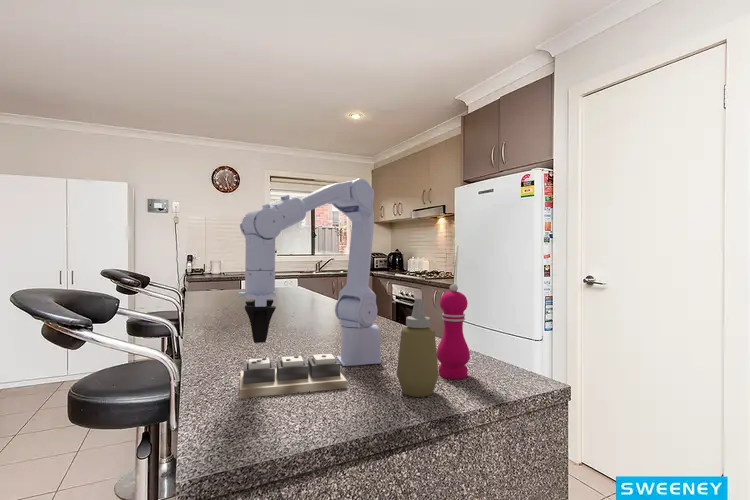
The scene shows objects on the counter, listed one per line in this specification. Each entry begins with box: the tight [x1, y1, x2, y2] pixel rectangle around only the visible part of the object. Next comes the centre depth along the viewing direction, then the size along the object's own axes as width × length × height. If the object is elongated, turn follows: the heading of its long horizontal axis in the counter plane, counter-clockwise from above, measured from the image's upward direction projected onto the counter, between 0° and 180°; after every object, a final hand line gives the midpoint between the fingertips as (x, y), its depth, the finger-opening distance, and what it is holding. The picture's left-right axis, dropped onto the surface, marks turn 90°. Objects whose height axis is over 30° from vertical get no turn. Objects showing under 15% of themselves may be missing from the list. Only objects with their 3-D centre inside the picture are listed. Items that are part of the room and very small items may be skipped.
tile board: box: [238, 356, 348, 399], centre depth 81 cm, size 20×12×4 cm, turn 107°
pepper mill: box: [436, 283, 471, 380], centre depth 87 cm, size 7×7×20 cm
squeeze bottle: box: [396, 297, 440, 398], centre depth 76 cm, size 8×8×18 cm
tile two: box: [281, 355, 304, 367], centre depth 81 cm, size 4×4×2 cm
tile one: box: [312, 353, 336, 365], centre depth 83 cm, size 4×4×2 cm
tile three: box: [248, 357, 271, 370], centre depth 79 cm, size 4×4×2 cm
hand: (259, 338), depth 79 cm, fingers open, 7 cm apart
